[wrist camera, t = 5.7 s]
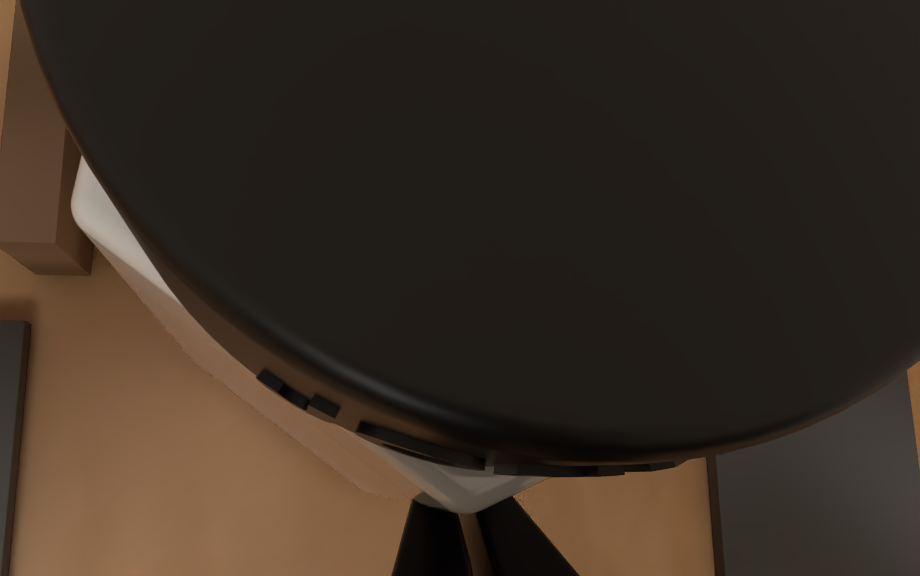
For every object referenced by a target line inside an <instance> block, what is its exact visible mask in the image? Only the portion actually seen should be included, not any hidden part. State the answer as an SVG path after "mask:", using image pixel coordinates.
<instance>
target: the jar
mask: <svg viewBox="0 0 920 576" xmlns="http://www.w3.org/2000/svg"><path fill="white" fill-rule="evenodd" d="M19 1H20V6H21V9H22V13H23V17H24V20H25V24H26V27H27V31H28V34H29V38H30V41H31V45H32V48H33V51H34V53H35V56H36V59H37V61H38V64H39V67H40V69H41V72H42V75H43V77H44V80H45V83H46V85H47V88H48V90H49V92H50V94H51V96H52V98H53V101H54V103H55V105H56V107H57V109H58V111H59V113H60V115H61V118H62V120H63V122H64V124H65V126H66V128H67V130H68V132H69V133H70V135H71V137H72V139H73V140H74V142H75V144H76V146H77V147H78V149H79V151H80V153H81V154H82V156H81V160H80V164H79V168H78V172H77V177H76V181H75V185H74V189H73V194H72V198H71V210H72V215H73V218H74V220H75V222H76V224H77V225H78V226H79V228H80V229H81V230H82V231H83V232H84V233H85V235H86V236H87V237H88V238H89V239H90V240H91V242H92V243H93V244H94V245H95V246H96V248H97V249H98V250H99V251H100V252H101V253H102V255H103V256H104V257H105V258H106V259H107V261H108V262H109V263H110V264H111V265H112V266H113V268H114V269H115V270H116V271H117V272H118V274H119V275H120V276H121V277H122V278H123V279H124V281H125V282H126V283H127V284H128V285H129V286H130V288H131V289H132V290H133V291H134V292H135V294H136V295H137V296H138V297H139V298H140V299H141V301H142V302H143V303H144V304H145V305H146V307H147V308H148V309H149V310H150V311H151V312H152V314H153V315H154V316H155V317H156V318H157V320H158V321H159V322H160V323H161V324H162V325H163V327H164V328H165V329H166V330H167V331H168V332H169V334H170V335H171V336H172V337H173V338H174V340H175V341H176V342H177V343H178V344H179V345H180V347H181V348H182V349H183V350H184V351H185V353H186V354H187V355H188V356H189V357H190V358H191V360H192V361H193V362H195V363H196V364H197V365H198V366H200V367H201V368H202V369H204V370H205V371H206V372H208V373H209V374H210V375H212V376H213V377H214V378H215V379H217V380H218V381H219V382H221V383H222V384H223V385H225V386H226V387H227V388H229V389H230V390H231V391H233V392H234V393H235V394H236V395H238V396H239V397H240V398H242V399H243V400H244V401H246V402H247V403H248V404H250V405H251V406H252V407H254V408H255V409H256V410H257V411H259V412H260V413H261V414H263V415H264V416H265V417H267V418H268V419H269V420H271V421H272V422H273V423H274V424H276V425H277V426H278V427H280V428H281V429H282V430H284V431H285V432H286V433H288V434H289V435H290V436H292V437H293V438H294V439H295V440H297V441H298V442H299V443H301V444H302V445H303V446H305V447H306V448H307V449H309V450H310V451H311V452H313V453H314V454H315V455H316V456H318V457H319V458H320V459H322V460H323V461H324V462H326V463H327V464H328V465H330V466H331V467H332V468H333V469H335V470H336V471H337V472H339V473H340V474H341V475H343V476H344V477H345V478H347V479H348V480H349V481H351V482H352V483H353V484H354V485H356V486H357V487H358V488H360V489H361V490H362V491H364V492H365V493H367V494H370V495H375V496H379V497H384V498H388V499H393V500H398V501H402V502H407V503H411V501H412V499H414V500H416V501H417V502H419V503H421V504H422V505H424V506H426V507H430V508H434V509H439V510H443V511H448V512H452V513H456V514H462V515H468V514H473V513H477V512H479V511H481V510H483V509H486V508H488V507H490V506H492V505H494V504H496V503H498V502H500V501H502V500H504V499H506V498H508V497H511V496H513V495H515V494H517V493H519V492H521V491H523V490H525V489H527V488H529V487H531V486H534V485H536V484H538V483H540V482H542V481H544V480H546V479H548V478H550V477H601V476H617V475H625V472H647V471H657V470H663V469H668V468H673V467H677V466H679V465H680V464H682V463H684V462H685V461H687V460H689V459H695V458H701V457H706V456H712V455H722V454H725V453H728V452H732V451H736V450H740V449H744V448H748V447H751V446H755V445H759V444H763V443H766V442H769V441H772V440H775V439H777V438H780V437H783V436H786V435H789V434H792V433H794V432H797V431H800V430H803V429H805V428H807V427H809V426H811V425H814V424H816V423H818V422H820V421H822V420H825V419H827V418H829V417H831V416H833V415H836V414H838V413H840V412H842V411H844V410H846V409H847V408H849V407H851V406H852V405H854V404H856V403H858V402H859V401H861V400H863V399H864V398H866V397H868V396H870V395H871V394H873V393H875V392H876V391H878V390H880V389H882V388H883V387H885V386H886V385H888V384H889V383H890V382H892V381H893V380H894V379H896V378H897V377H898V376H900V375H901V374H902V373H904V372H905V371H906V370H907V369H909V368H910V367H911V366H913V365H914V364H915V363H917V362H918V361H919V360H920V0H19Z"/></svg>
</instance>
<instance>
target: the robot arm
mask: <svg viewBox="0 0 920 576" xmlns="http://www.w3.org/2000/svg"><path fill="white" fill-rule="evenodd" d="M392 576H579V575H578V573H577V572H576V571H575V570H574V569H573V567H572V566H571V565H570V564H569V563H568V562H567V560H566V559H565V558H564V557H563V556H562V554H561V553H560V552H559V551H558V550H557V548H556V547H555V546H554V545H553V544H552V542H551V541H550V540H549V539H548V538H547V537H546V535H545V534H544V533H543V532H542V531H541V529H540V528H539V527H538V526H537V525H536V523H535V522H534V521H533V520H532V519H531V517H530V516H529V515H528V514H527V513H526V512H525V510H524V509H523V508H522V507H521V506H520V504H519V503H518V502H517V501H516V500H515V498H514V497H513V496H511V497H508V498H506V499H504V500H502V501H500V502H498V503H496V504H494V505H492V506H490V507H488V508H486V509H483V510H481V511H479V512H477V513H473V514H468V515H462V514H460V516H459V515H458V514H456V513H452V512H448V511H443V510H439V509H434V508H430V507H426V506H424V505H422V504H421V503H419V502H417V501H416V500H414V499H412V501H411V504H410V508H409V512H408V516H407V519H406V523H405V527H404V531H403V534H402V538H401V542H400V546H399V549H398V553H397V557H396V561H395V564H394V568H393V572H392Z"/></svg>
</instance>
